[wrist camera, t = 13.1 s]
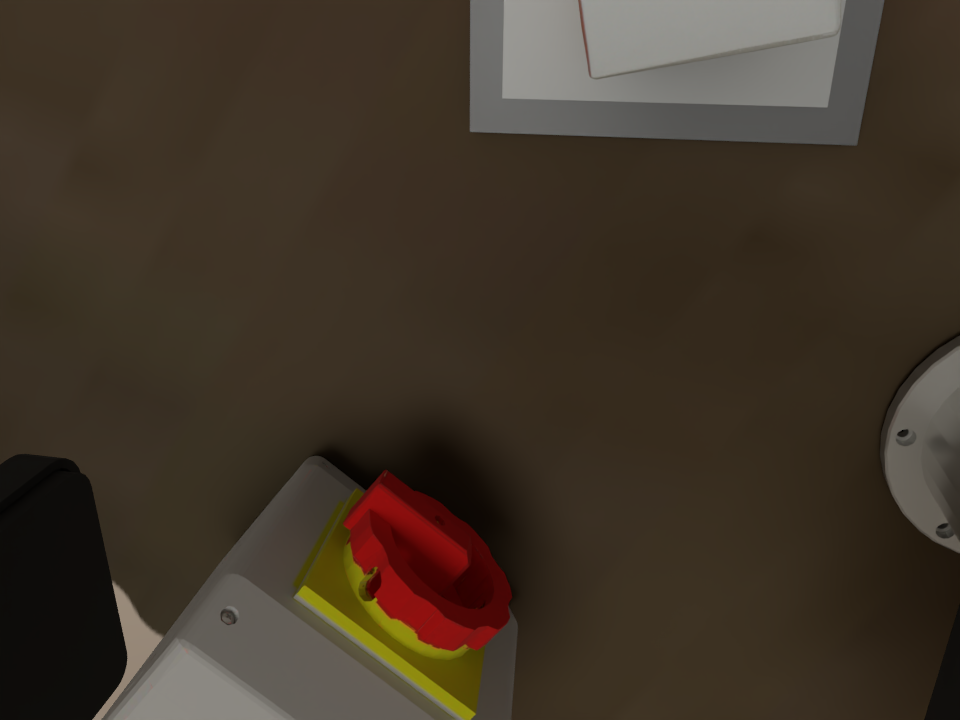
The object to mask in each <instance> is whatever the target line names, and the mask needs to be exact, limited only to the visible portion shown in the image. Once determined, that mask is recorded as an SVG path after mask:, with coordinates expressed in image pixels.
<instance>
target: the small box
mask: <svg viewBox="0 0 960 720" xmlns="http://www.w3.org/2000/svg"><path fill="white" fill-rule="evenodd" d="M578 3H579V11H580V19H581V27H582V33H583V39H584V45H585V52H586V58H587V64H588V71H589V76H590V78H592V79H596V80H597V79H602V78H608V77H613V76H619V75H624V74H630V73H636V72H641V71H647V70H652V69H658V68H663V67H669V66H674V65H680V64H686V63H691V62H697V61H702V60H708V59H713V58H719V57H724V56H730V55H735V54H741V53H747V52H752V51H758V50H763V49H769V48H775V47H780V46H786V45H791V44H797V43H802V42H808V41H813V40H818V39H823V38H829V37H833V36H836V35H837V34H838V32H839V30H840V28H841V0H578Z"/></svg>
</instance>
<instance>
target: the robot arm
mask: <svg viewBox="0 0 960 720" xmlns="http://www.w3.org/2000/svg"><path fill="white" fill-rule="evenodd" d="M901 430H905V431H903V432H901V433H898V432H900V431H901ZM880 458H881V464H882V469H883V475H884V478H885V480H886V482H887V485H888V487H889V489H890V492H891V494H892V496H893V498H894V499H895V501H896V503H897V504H898V506H899V508H900V509H901V511H902V513H903V514H904V515H905V516H906V517H907V518H908V519H909V521H910V522H911V523H912V524H913V525H914V526H915V527H916V528H917V529H918V530H919V531H920V532H922V533H923V534H924V535H926V536H927V537H929V538H930V539H931V540H933V541H934V542H936V543H938V544H940V545H942V546H944V547H946V548H948V549H951V550H953V551H955V552H957V553H959V554H960V336H958V337H956V338H955V339H953V340H951V341H950V342H948V343H947V344H945V345H943V346H942V347H940V348H938V349H937V350H936V351H935V352H934V353H932V354H931V355H930V356H929V357H928V358H927V359H926V360H924V361H923V362H922V363H921V364H920V365H919V366H918V367H916V369H915V370H914V371H913V372H912V373H911V375H910V376H909V377H908V378H907V380H906V381H905V382H904V383H903V385H902V386H901V387H900V388H899V390H898V392H897V394H896V396H895V398H894V399H893V401H892V403H891V405H890V407H889V409H888V411H887V414H886V418H885V421H884V425H883V428H882V431H881V444H880ZM126 665H127V650H126V646H125V641H124V636H123V632H122V627H121V622H120V617H119V613H118V609H117V603H116V599H115V594H114V589H113V585H112V580H111V575H110V571H109V566H108V561H107V557H106V552H105V547H104V543H103V538H102V533H101V529H100V524H99V519H98V514H97V510H96V505H95V500H94V496H93V491H92V486H91V484H90V481H89V479H88V478H87V477H86V475H84V474H82V473H80V470H79V468H78V466H77V465H76V464H75V463H74V462H73V461H71V460H69V459H66V458H57V457H48V456H39V455H30V454H18V455H15V456H13V457H11V458H9V459H8V460H6V461H5V462H3V463H2V464H1V465H0V720H92V719H93V718H94V717H95V715H96V714H97V713H98V712H99V710H100V709H101V708H102V706H103V705H104V704H105V703H106V701H107V700H108V699H109V697H110V696H111V695H112V694H113V692H114V691H115V690H116V688H117V687H118V685H119V684H120V682H121V680H122V678H123V675H124V673H125V669H126ZM924 720H960V605H959V608H958V611H957V615H956V618H955V621H954V625H953V628H952V631H951V634H950V638H949V641H948V644H947V647H946V651H945V654H944V657H943V661H942V664H941V667H940V670H939V674H938V677H937V680H936V683H935V687H934V690H933V693H932V697H931V700H930V703H929V706H928V710H927V713H926V716H925V719H924Z"/></svg>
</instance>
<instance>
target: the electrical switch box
mask: <svg viewBox="0 0 960 720" xmlns="http://www.w3.org/2000/svg"><path fill="white" fill-rule="evenodd" d="M511 598H512V594H511V588H510V586H509V583H508V581H507V578H506V575H505V573H504V572H503V571H502V570H501V568H500V567H499V566H498V565H497V563H496V562H495V560H494V559H493V557H492V556H491V553H490V550H489V547H488V546H487V545H486V543H485V542H484V541H483V540H482V539H481V538H480V536H479V535H478V534H477V533H476V532H475V531H474V530H473V529H472V528H471V527H470V526H469V525H468V524H467V523H466V522H464V521H462V520H460V519H459V518H457V517H456V516H455V515H453V514H452V513H451V512H450V511H449V510H448V509H447V508H446V507H445V506H444V505H443V504H442V503H440V502H439V501H437V500H435V499H433V498H431V497H430V496H428V495H426V494H423V493H421V492H418V491H413V490H412V489H411V488H409V487H408V486H407V485H406V484H404V483H403V482H402V481H400V480H399V479H398V478H397V477H395V476H394V475H393V474H391V473H390V472H389V471H388V470H384V471H383V472H382V474H381V475H380V476H379V477H378V478H377V479H376V480H375V482H374V483H373V484H372V485H371V486H370V487H369V488H368V490H367V491H366V490H365V489H363V488H362V487H361V486H359V485H358V484H357V483H356V482H354V481H353V480H352V479H350V478H349V477H348V476H347V475H345V474H344V473H343V472H341V471H340V470H339V469H338V468H336V467H335V466H334V465H332V464H331V463H330V462H329V461H327V460H326V459H325V458H323V457H321V456H312V457H309V458H308V459H306V460H305V462H304V463H303V464H302V465H301V466H300V468H299V469H298V470H297V471H296V472H295V474H294V475H293V476H292V477H291V478H290V480H289V481H288V482H287V483H286V484H285V485H284V486H283V488H282V489H281V490H280V491H279V492H278V494H277V495H276V496H275V497H274V498H273V500H272V501H271V502H270V503H269V504H268V506H267V507H266V508H265V509H264V510H263V512H262V513H261V514H260V515H259V516H258V518H257V519H256V520H255V521H254V522H253V524H252V525H251V526H250V527H249V528H248V530H247V531H246V532H245V533H244V534H243V536H242V537H241V538H240V539H239V540H238V542H237V543H236V544H235V545H234V546H233V548H232V549H231V550H230V551H229V552H228V554H227V555H226V556H225V557H224V558H223V560H222V561H221V562H220V564H219V565H218V566H217V567H216V569H215V570H214V571H213V573H212V574H211V575H210V577H209V578H208V579H207V581H206V582H205V583H204V585H203V586H202V587H201V589H200V590H199V591H198V593H197V594H196V595H195V597H194V598H193V599H192V601H191V602H190V603H189V605H188V606H187V607H186V609H185V610H184V611H183V612H182V614H181V615H180V616H179V618H178V619H177V620H176V622H175V623H174V624H173V626H172V627H171V628H170V630H169V631H168V632H167V634H166V635H165V636H164V638H163V639H162V640H161V642H160V643H159V644H158V646H157V647H156V648H155V650H154V651H153V652H152V654H151V655H150V656H149V658H148V659H147V660H146V662H145V663H144V664H143V665H142V667H141V668H140V669H139V671H138V672H137V673H136V675H135V676H134V677H133V679H132V680H131V681H130V683H129V684H128V685H127V687H126V688H125V689H124V691H123V692H122V693H121V695H120V696H119V697H118V699H117V700H116V701H115V702H114V704H113V705H112V707H111V708H110V709H109V710H108V712H107V713H106V714H105V716H104V717H103V718H102V720H511V712H512V699H513V686H514V673H515V660H516V647H517V634H518V624H517V621H516V619H515V617H514V615H513V613H512V612H511V610H510V608H509V606H508V605H509V601H510V600H511Z"/></svg>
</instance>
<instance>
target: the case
mask: <svg viewBox="0 0 960 720" xmlns="http://www.w3.org/2000/svg"><path fill="white" fill-rule="evenodd" d="M883 5H884V0H841V28H840V30H839V32H838V34H837V35H836V36H833V37H829V38H823V39H818V40H813V41H808V42H802V43H797V44H791V45H786V46H780V47H775V48H769V49H763V50H758V51H752V52H747V53H741V54H735V55H730V56H724V57H719V58H713V59H708V60H702V61H697V62H691V63H686V64H680V65H674V66H669V67H663V68H658V69H652V70H647V71H641V72H636V73H630V74H624V75H619V76H613V77H608V78H602V79H597V80H596V79H592V78H590V76H589V71H588V64H587V58H586V52H585V45H584V39H583V33H582V27H581V19H580V11H579V3H578V0H470V132H488V133H517V134H545V135H574V136H602V137H631V138H659V139H688V140H716V141H745V142H773V143H802V144H830V145H857V142H858V137H859V132H860V126H861V121H862V116H863V110H864V105H865V100H866V95H867V89H868V84H869V79H870V73H871V68H872V63H873V58H874V52H875V47H876V42H877V36H878V31H879V26H880V20H881V15H882V10H883Z"/></svg>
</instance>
